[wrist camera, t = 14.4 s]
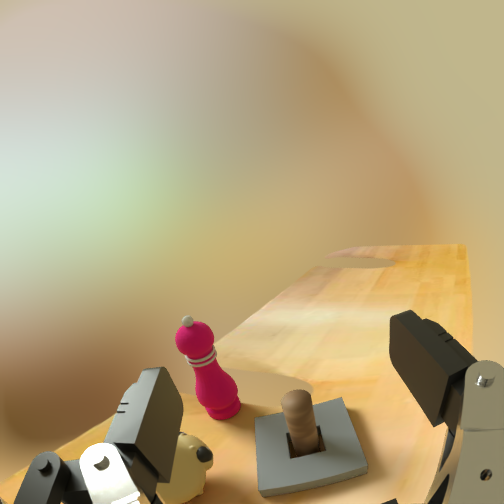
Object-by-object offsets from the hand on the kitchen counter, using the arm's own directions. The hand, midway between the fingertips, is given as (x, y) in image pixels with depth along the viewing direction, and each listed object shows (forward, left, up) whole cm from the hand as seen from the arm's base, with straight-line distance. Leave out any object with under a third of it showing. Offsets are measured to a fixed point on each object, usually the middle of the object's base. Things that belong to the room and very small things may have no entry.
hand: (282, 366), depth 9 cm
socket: (0, +17, -31) cm, 36 cm away
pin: (0, +17, -31) cm, 36 cm away
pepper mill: (-13, +30, -32) cm, 45 cm away
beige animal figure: (-18, +13, -32) cm, 39 cm away
